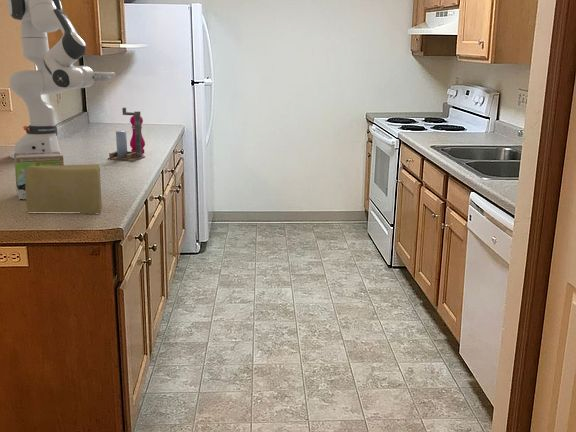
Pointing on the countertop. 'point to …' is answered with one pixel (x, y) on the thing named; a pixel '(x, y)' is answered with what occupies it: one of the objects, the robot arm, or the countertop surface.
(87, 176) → the olive green box
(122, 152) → the grey tapered cup
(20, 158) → the tea box
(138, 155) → the hanger stand
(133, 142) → the pepper mill
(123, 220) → the countertop surface
